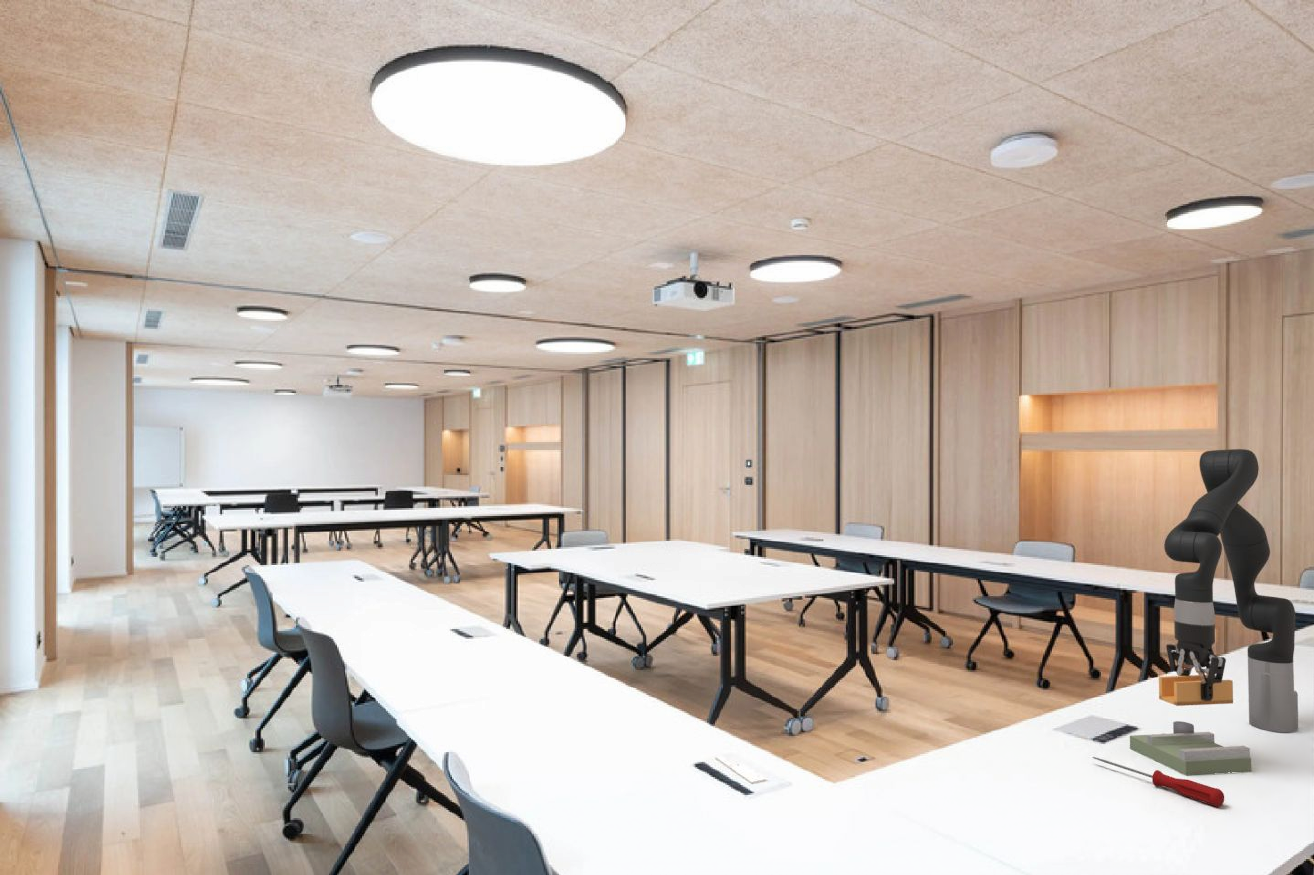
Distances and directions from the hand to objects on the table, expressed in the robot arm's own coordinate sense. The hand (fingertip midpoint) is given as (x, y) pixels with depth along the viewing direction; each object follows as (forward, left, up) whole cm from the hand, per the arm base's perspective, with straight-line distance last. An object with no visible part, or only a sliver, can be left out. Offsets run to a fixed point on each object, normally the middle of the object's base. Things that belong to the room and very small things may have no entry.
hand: (1195, 696), depth 172 cm
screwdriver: (+19, +9, -15) cm, 26 cm away
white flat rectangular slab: (+102, -10, -16) cm, 104 cm away
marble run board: (0, -2, -15) cm, 15 cm away
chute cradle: (0, 0, -12) cm, 12 cm away
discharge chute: (0, 0, -1) cm, 1 cm away
